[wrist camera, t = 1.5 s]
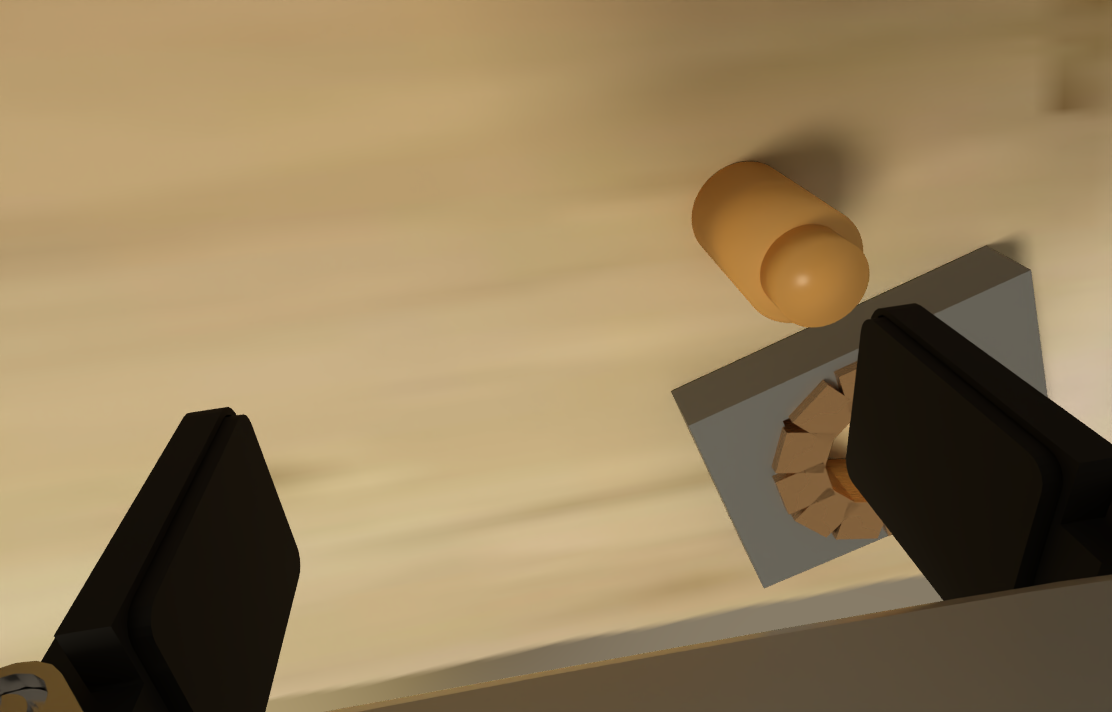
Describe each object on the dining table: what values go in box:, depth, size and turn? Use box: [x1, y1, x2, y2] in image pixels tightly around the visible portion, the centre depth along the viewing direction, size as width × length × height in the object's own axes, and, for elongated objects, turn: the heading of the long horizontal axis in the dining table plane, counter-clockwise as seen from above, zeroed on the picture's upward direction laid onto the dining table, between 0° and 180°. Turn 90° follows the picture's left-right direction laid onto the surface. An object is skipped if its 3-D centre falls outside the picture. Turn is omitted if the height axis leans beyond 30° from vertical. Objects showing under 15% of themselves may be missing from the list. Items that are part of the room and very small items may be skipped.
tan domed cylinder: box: [692, 161, 869, 328], centre depth 28 cm, size 4×4×8 cm
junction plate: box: [671, 246, 1047, 588], centre depth 36 cm, size 16×12×3 cm
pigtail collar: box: [772, 361, 892, 540], centre depth 36 cm, size 11×11×4 cm
